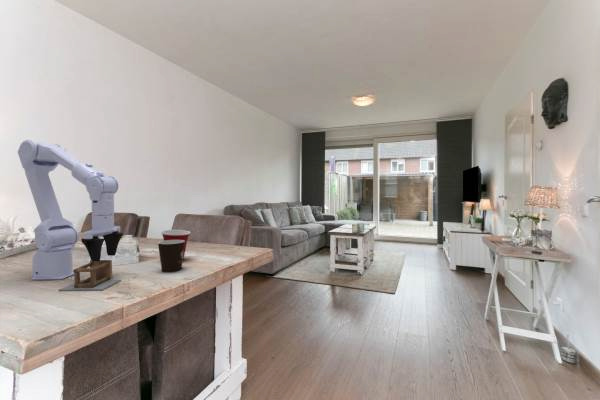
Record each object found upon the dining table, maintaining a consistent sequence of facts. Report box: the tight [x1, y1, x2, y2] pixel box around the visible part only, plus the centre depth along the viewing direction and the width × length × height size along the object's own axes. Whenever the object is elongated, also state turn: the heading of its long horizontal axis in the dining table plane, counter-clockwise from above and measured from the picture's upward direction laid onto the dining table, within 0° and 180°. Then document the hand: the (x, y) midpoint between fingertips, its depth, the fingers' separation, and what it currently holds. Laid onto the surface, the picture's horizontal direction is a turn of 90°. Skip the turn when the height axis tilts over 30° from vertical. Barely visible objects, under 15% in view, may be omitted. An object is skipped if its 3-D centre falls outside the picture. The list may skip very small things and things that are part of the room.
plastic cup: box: [160, 229, 191, 260], centre depth 112 cm, size 11×11×12 cm
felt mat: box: [57, 279, 122, 292], centre depth 82 cm, size 12×8×1 cm
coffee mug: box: [157, 240, 185, 273], centre depth 101 cm, size 12×9×10 cm
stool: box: [73, 259, 113, 288], centre depth 83 cm, size 6×6×8 cm
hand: (103, 258), depth 88 cm, fingers open, 7 cm apart
